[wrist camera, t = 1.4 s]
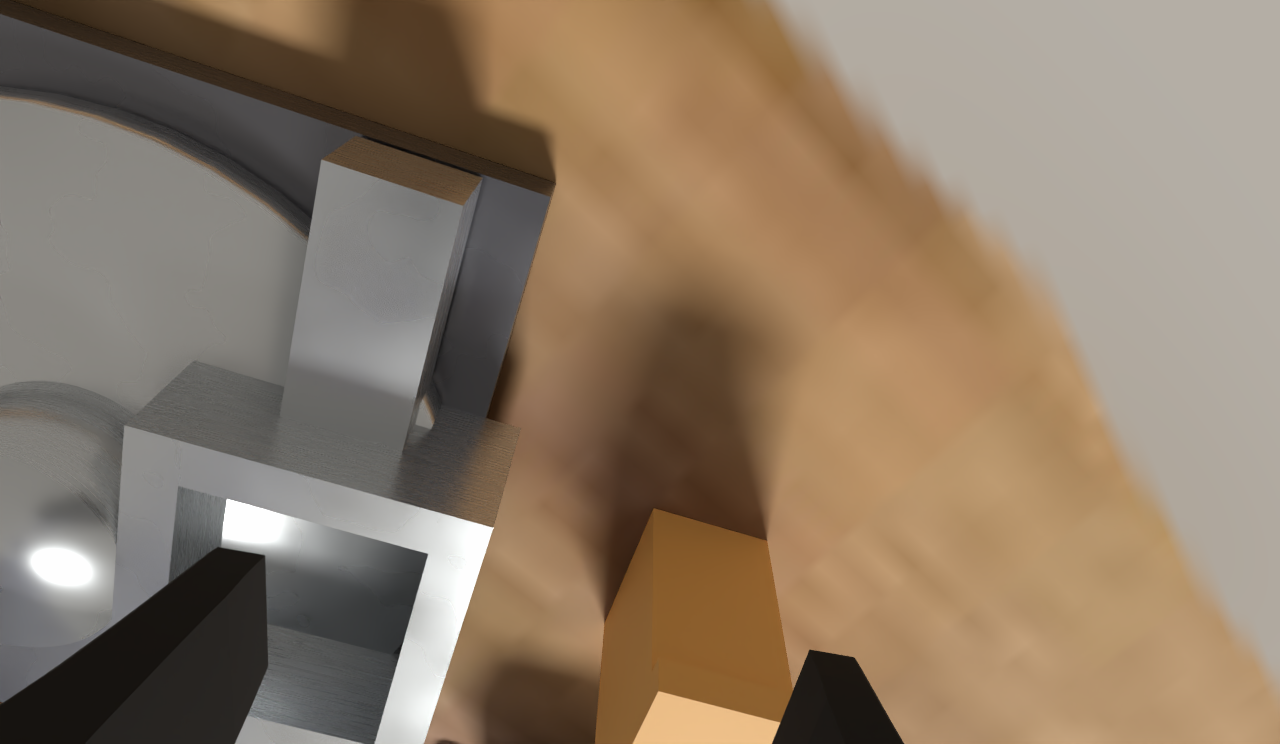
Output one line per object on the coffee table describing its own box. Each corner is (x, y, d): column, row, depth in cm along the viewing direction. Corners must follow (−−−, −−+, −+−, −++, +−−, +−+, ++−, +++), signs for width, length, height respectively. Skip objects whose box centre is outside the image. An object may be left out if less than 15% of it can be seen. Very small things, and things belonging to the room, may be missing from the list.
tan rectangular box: (704, 661, 23) (717, 878, 18) (600, 633, 23) (581, 847, 18) (773, 528, 21) (811, 730, 16) (658, 495, 21) (658, 690, 16)
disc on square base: (414, 759, 25) (368, 914, 21) (-195, 614, 23) (-372, 757, 19) (594, 196, 17) (574, 276, 13) (-310, -108, 15) (-656, -119, 11)
